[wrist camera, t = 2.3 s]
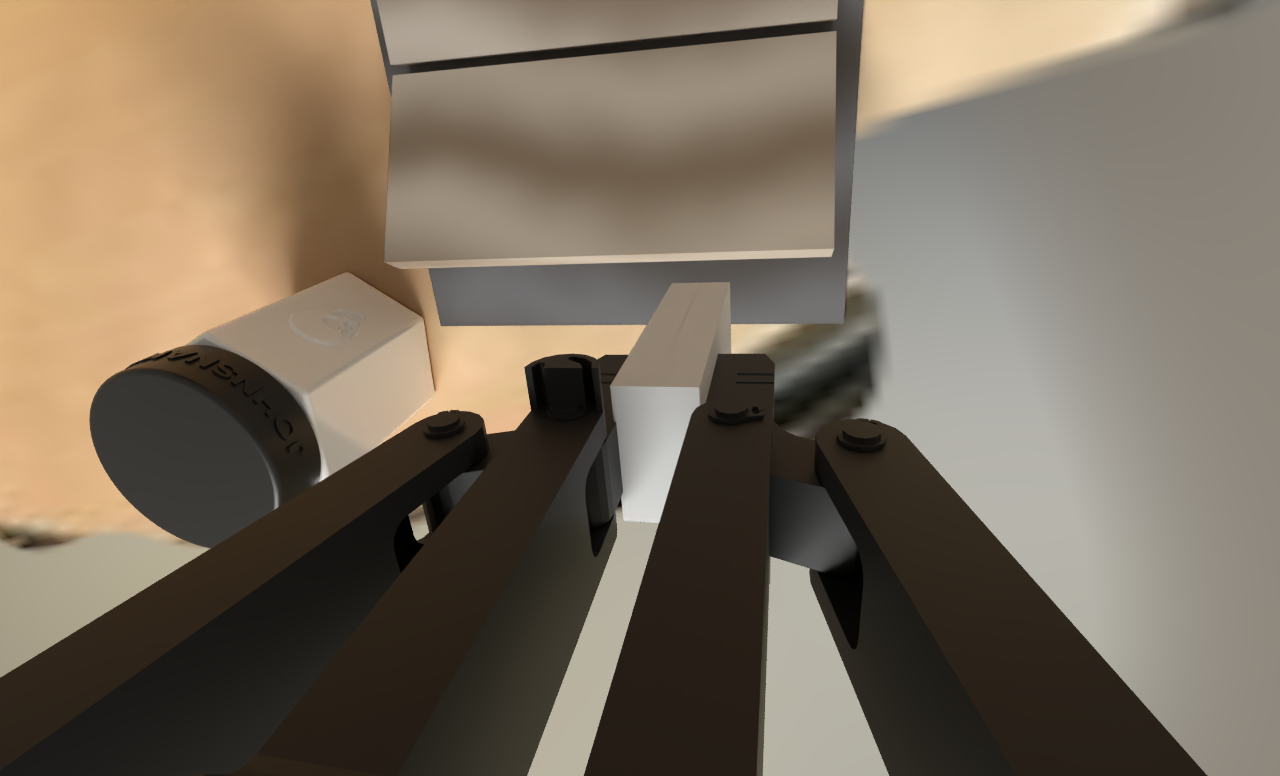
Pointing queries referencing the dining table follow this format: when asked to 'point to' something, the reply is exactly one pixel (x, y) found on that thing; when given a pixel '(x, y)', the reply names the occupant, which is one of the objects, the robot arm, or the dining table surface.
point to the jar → (261, 407)
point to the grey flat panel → (613, 23)
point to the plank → (617, 157)
